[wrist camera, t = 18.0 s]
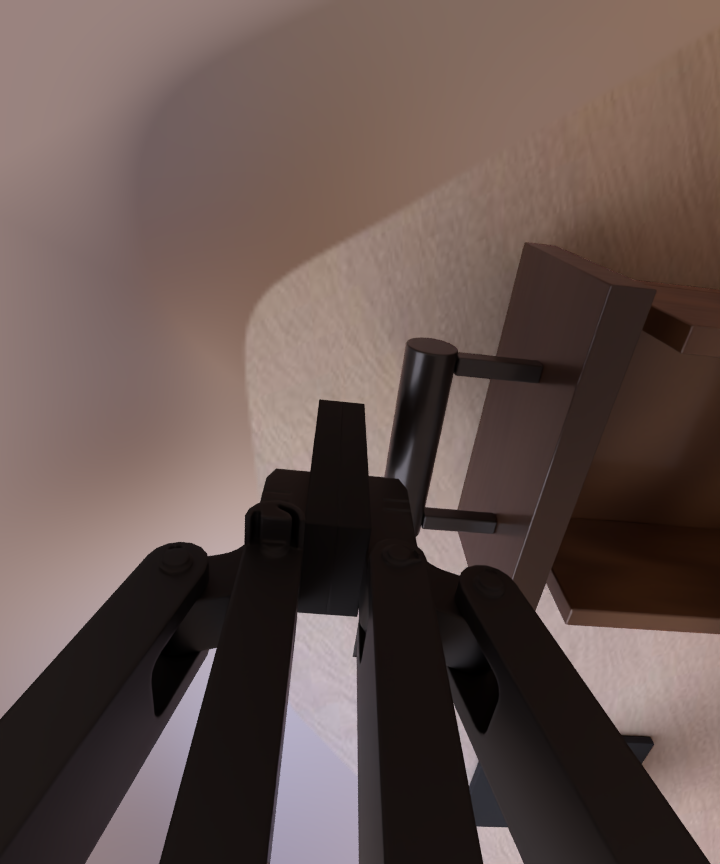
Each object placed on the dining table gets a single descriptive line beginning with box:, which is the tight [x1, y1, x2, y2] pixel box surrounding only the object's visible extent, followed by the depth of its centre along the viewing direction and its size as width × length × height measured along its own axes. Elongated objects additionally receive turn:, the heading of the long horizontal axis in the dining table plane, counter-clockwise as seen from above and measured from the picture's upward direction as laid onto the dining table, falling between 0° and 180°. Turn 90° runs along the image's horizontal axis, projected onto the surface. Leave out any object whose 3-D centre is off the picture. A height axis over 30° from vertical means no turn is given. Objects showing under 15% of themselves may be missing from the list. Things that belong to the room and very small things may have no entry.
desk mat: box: [469, 736, 654, 827], centre depth 37 cm, size 11×11×1 cm
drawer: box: [384, 242, 720, 634], centre depth 19 cm, size 20×13×7 cm, turn 83°
